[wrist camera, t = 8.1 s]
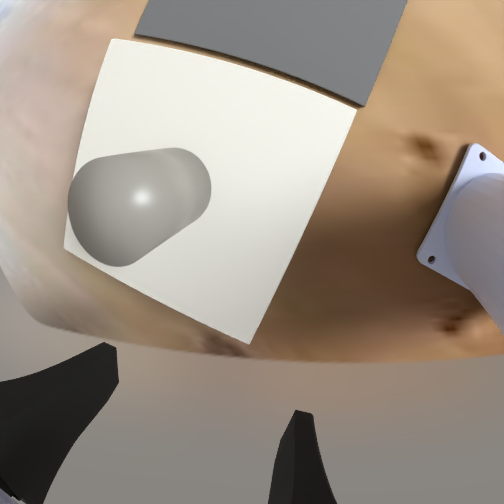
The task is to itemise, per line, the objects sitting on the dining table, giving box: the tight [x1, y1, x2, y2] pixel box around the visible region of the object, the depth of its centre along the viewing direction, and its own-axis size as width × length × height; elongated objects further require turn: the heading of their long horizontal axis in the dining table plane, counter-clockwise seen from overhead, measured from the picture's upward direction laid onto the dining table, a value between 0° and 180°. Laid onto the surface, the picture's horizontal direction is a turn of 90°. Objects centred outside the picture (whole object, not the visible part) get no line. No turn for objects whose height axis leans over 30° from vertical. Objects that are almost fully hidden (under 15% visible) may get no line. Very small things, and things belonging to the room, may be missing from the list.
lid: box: [64, 38, 357, 344], centre depth 12 cm, size 12×12×6 cm
